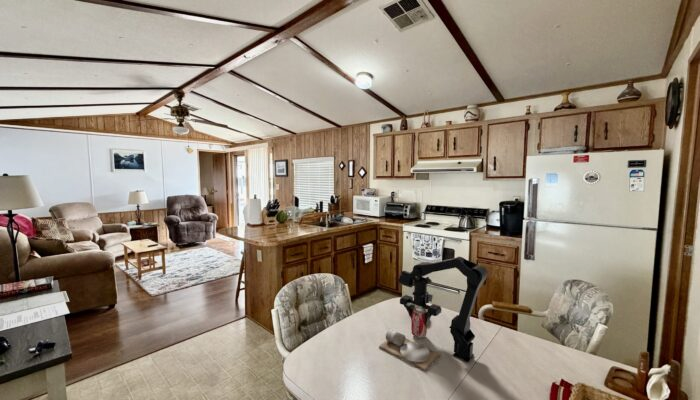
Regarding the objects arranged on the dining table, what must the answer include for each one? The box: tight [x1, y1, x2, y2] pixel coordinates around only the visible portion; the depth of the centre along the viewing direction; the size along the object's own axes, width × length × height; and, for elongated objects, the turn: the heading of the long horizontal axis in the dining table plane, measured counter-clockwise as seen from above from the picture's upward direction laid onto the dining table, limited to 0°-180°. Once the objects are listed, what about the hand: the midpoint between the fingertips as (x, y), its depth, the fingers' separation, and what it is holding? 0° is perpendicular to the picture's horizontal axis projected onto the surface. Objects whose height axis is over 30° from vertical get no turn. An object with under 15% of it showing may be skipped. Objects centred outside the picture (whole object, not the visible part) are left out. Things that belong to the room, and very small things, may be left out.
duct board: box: [378, 328, 441, 372], centre depth 126 cm, size 22×13×6 cm, turn 47°
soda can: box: [410, 308, 428, 339], centre depth 137 cm, size 7×7×12 cm
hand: (419, 322), depth 137 cm, fingers closed on soda can, 7 cm apart
